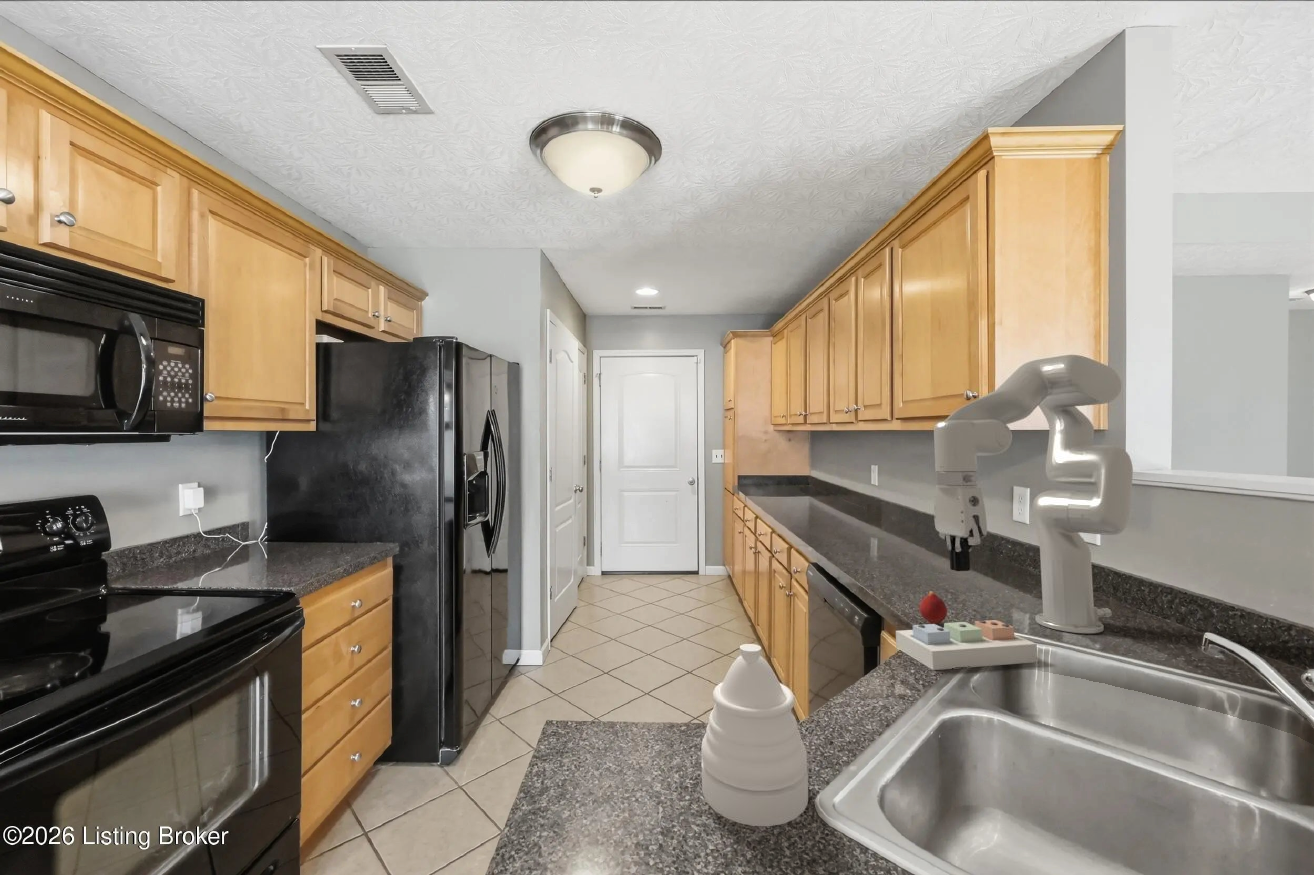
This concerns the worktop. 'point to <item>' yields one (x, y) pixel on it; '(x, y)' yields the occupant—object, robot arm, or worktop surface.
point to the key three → (995, 630)
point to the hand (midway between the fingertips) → (960, 570)
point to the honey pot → (754, 747)
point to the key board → (967, 652)
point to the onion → (933, 609)
